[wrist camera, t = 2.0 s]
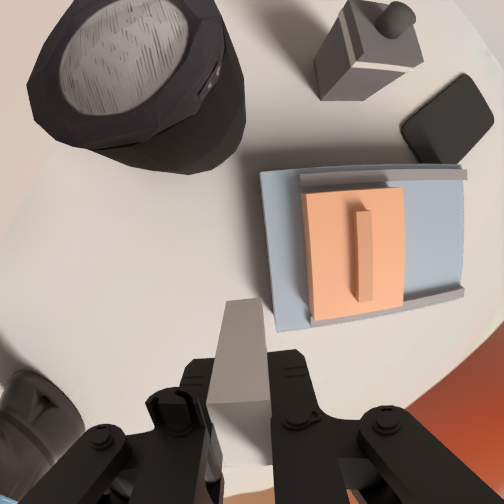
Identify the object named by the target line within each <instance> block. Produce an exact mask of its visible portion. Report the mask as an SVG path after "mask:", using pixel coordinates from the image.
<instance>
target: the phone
mask: <svg viewBox="0 0 504 504" xmlns="http://www.w3.org/2000/svg"><path fill="white" fill-rule="evenodd" d="M493 124H494V116H493V114H492V112H491V110H490V108H489V106H488V105H487V103H486V101H485V99H484V98H483V96H482V94H481V93H480V91H479V89H478V88H477V86H476V85H475V83H474V82H473V80H472V79H471V77H470V76H468V75H462V76H460V77H459V78H458V79H457V80H456V81H454V82H453V83H452V84H451V85H450V86H448V87H447V88H446V89H445V90H443V91H442V92H441V93H440V94H439V95H437V96H436V97H435V98H434V99H433V100H431V101H430V102H429V103H427V104H426V105H425V106H424V107H422V108H421V109H420V110H419V111H418V112H417V113H416V114H415V115H413V116H412V117H411V118H410V119H408V120H407V121H406V122H405V123H404V124H403V125H402V128H401V133H402V136H403V138H404V140H405V141H406V143H407V144H408V146H409V147H410V149H411V150H412V152H413V153H414V155H415V156H416V158H417V159H418V161H419V163H420V164H458V163H459V161H460V160H461V159H462V158H463V157H464V156H465V155H466V154H467V153H468V152H469V151H470V150H471V149H472V148H473V147H474V146H475V144H476V143H477V142H478V141H479V140H480V139H481V138H482V137H483V136H484V135H485V133H486V132H487V131H488V130H489V129H490V128H491V127H492V125H493Z"/></svg>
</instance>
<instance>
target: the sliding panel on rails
mask: <svg viewBox="0 0 504 504" xmlns="http://www.w3.org/2000/svg"><path fill="white" fill-rule="evenodd" d="M259 180H260V189H261V198H262V207H263V216H264V226H265V235H266V244H267V254H268V264H269V273H270V283H271V293H272V304H273V314H274V320H275V325H276V331H277V333H278V332H286V331H294V330H301V329H309V328H316V327H322V326H329V325H335V324H341V323H347V322H353V321H359V320H365V319H370V318H375V317H381V316H386V315H391V314H396V313H401V312H405V311H410V310H415V309H419V308H424V307H428V306H432V305H436V304H441V303H445V302H449V301H453V300H457V299H459V298H462V297H464V290H465V288H464V287H462V286H460V285H461V275H462V262H463V243H464V195H463V180H467V170H463V169H462V165H458V164H369V165H345V166H327V167H312V168H299V169H287V170H276V171H266V172H260V173H259ZM378 187H400V188H403V198H404V222H405V269H404V292H403V306H400V307H395V308H390V309H384V310H379V311H374V312H368V313H363V314H357V315H351V316H345V317H339V318H332V319H326V320H319V321H314V319H313V317H312V314H311V312H310V310H309V300H308V282H307V266H306V252H305V239H304V227H303V215H302V205H301V194H300V193H308V192H320V191H332V190H346V189H361V188H378Z"/></svg>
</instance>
